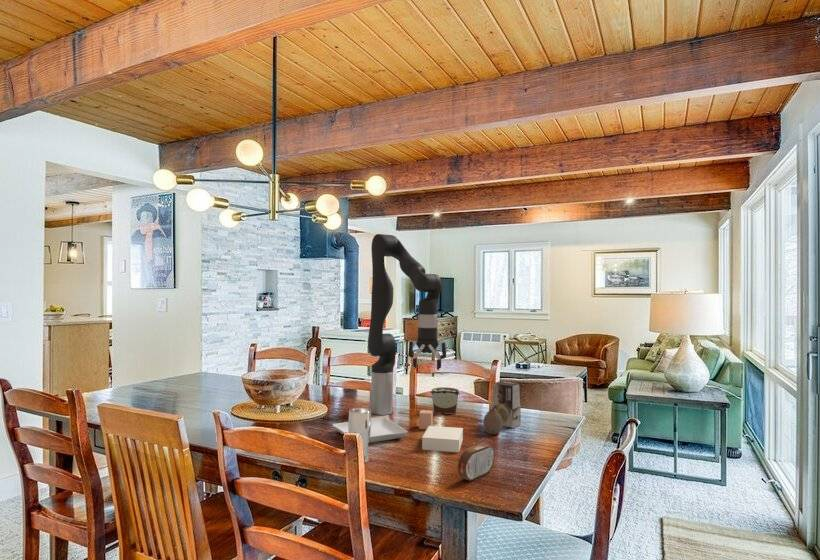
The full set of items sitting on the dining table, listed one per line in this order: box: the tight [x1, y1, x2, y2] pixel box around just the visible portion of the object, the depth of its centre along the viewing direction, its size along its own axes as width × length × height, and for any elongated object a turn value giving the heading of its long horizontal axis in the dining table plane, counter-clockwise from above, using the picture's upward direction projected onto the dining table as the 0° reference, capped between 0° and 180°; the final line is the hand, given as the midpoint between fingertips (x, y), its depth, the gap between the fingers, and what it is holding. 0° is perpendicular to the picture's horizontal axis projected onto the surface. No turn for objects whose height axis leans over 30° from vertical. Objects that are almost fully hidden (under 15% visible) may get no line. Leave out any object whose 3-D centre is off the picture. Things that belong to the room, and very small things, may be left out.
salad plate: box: [332, 416, 408, 444], centre depth 175 cm, size 21×21×3 cm
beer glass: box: [347, 407, 372, 463], centre depth 150 cm, size 7×7×15 cm
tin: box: [457, 442, 496, 482], centre depth 138 cm, size 15×3×8 cm, turn 137°
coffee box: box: [492, 380, 522, 429], centre depth 192 cm, size 9×6×16 cm
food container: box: [430, 386, 460, 415], centre depth 211 cm, size 12×6×10 cm, turn 84°
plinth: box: [421, 425, 464, 453], centre depth 166 cm, size 12×14×4 cm
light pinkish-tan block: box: [418, 409, 434, 430], centre depth 186 cm, size 4×4×6 cm
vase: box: [482, 407, 503, 435], centre depth 180 cm, size 7×7×9 cm
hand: (427, 368), depth 187 cm, fingers open, 8 cm apart
